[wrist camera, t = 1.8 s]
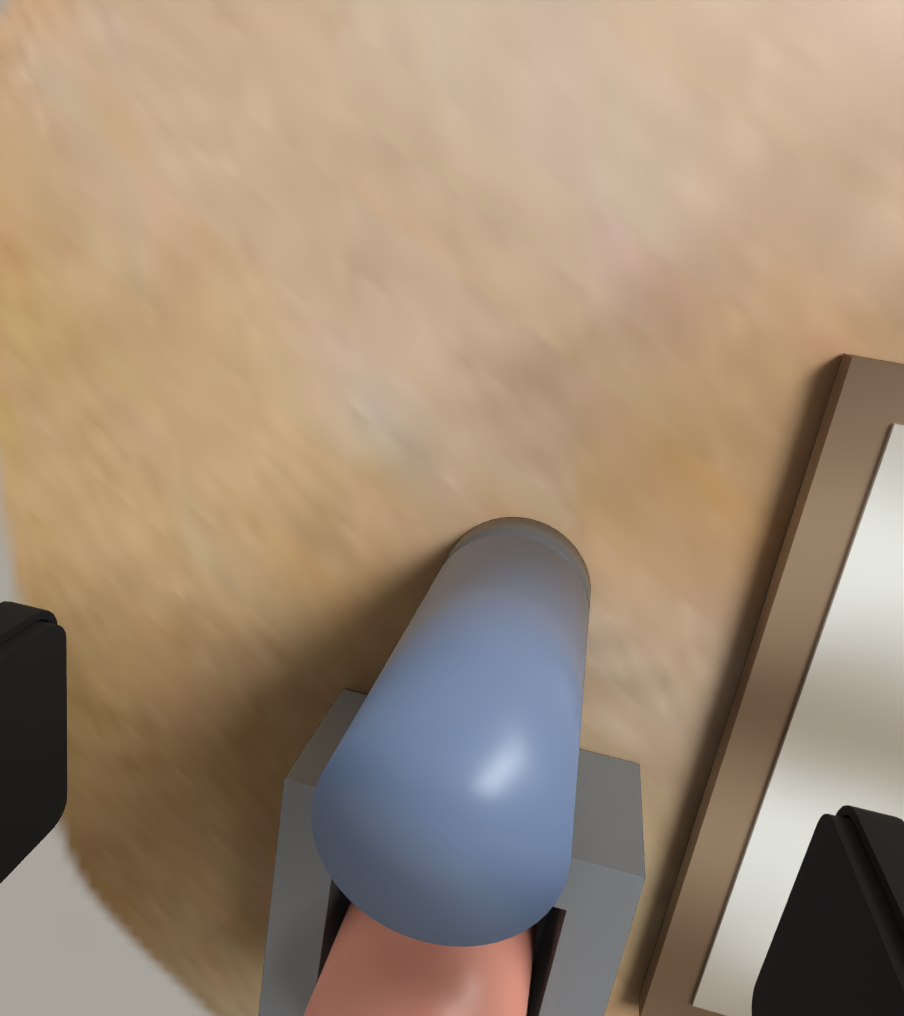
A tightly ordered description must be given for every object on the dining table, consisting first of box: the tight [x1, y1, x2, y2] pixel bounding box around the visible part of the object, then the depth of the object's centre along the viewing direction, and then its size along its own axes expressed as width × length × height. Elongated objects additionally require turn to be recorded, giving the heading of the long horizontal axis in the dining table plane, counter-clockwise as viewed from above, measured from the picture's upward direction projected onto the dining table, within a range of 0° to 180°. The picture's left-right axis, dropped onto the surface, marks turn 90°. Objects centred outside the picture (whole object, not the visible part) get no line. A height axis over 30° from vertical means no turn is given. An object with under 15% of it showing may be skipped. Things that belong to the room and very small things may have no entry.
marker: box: [311, 517, 591, 947], centre depth 13 cm, size 3×3×8 cm
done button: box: [303, 902, 537, 1016], centre depth 16 cm, size 4×4×4 cm
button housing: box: [258, 689, 645, 1016], centre depth 18 cm, size 7×7×4 cm
